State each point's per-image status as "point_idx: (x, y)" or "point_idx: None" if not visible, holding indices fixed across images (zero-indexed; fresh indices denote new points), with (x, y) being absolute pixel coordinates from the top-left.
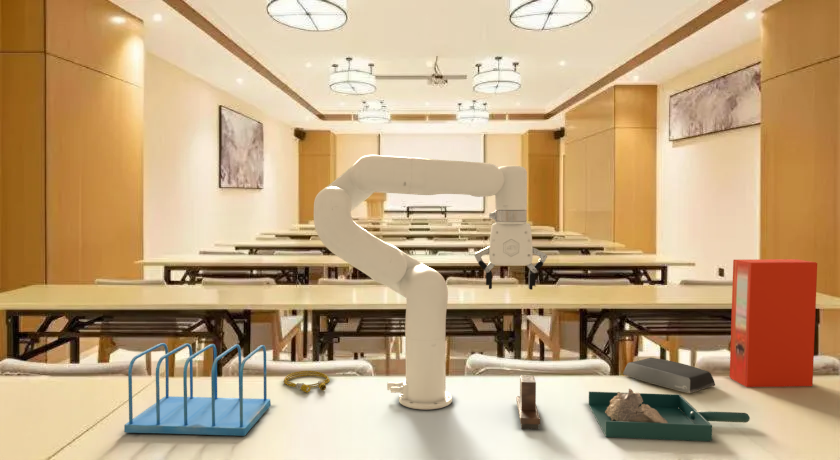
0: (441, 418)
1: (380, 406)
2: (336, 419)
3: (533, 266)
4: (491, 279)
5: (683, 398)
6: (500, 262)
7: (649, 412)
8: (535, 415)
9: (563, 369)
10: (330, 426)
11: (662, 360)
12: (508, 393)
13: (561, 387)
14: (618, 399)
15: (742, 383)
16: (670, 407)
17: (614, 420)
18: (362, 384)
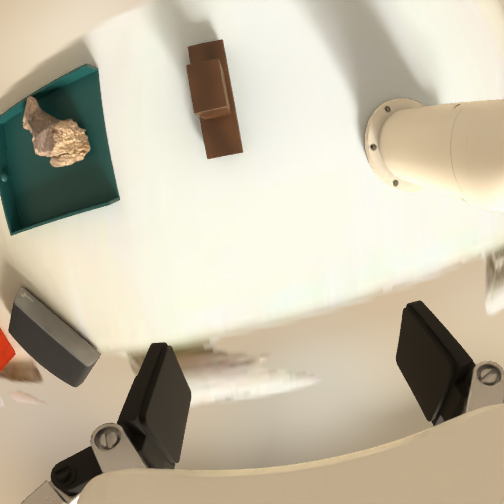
0: (363, 67)
1: None
2: (478, 65)
3: (102, 464)
4: (433, 338)
5: (6, 218)
6: (452, 440)
7: (29, 98)
8: (196, 57)
9: (188, 371)
10: (473, 44)
11: (57, 374)
12: (266, 222)
13: (174, 282)
14: (57, 127)
15: (1, 333)
16: (28, 224)
17: None
18: (488, 213)
